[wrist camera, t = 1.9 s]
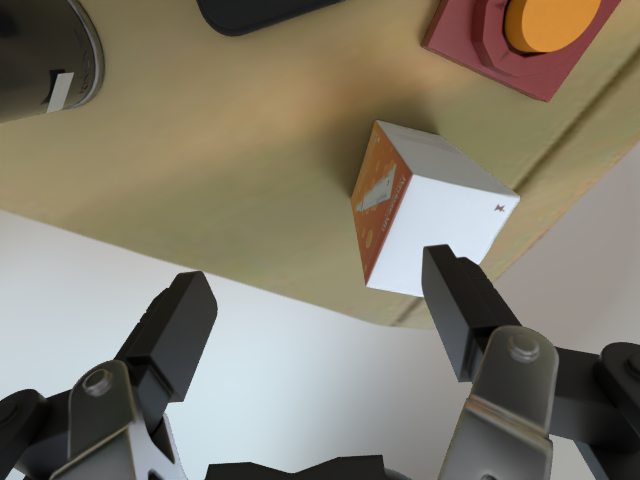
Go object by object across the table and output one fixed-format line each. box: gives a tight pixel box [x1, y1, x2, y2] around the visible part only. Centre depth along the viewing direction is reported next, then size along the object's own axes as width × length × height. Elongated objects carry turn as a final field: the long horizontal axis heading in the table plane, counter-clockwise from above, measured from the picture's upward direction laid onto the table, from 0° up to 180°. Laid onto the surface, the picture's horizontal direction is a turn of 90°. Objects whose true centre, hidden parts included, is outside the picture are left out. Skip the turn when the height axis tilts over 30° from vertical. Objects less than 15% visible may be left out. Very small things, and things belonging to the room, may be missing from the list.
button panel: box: [421, 0, 621, 102], centre depth 20 cm, size 11×8×4 cm
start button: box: [505, 0, 601, 52], centre depth 18 cm, size 4×4×2 cm
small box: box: [351, 120, 520, 297], centre depth 23 cm, size 8×6×13 cm
